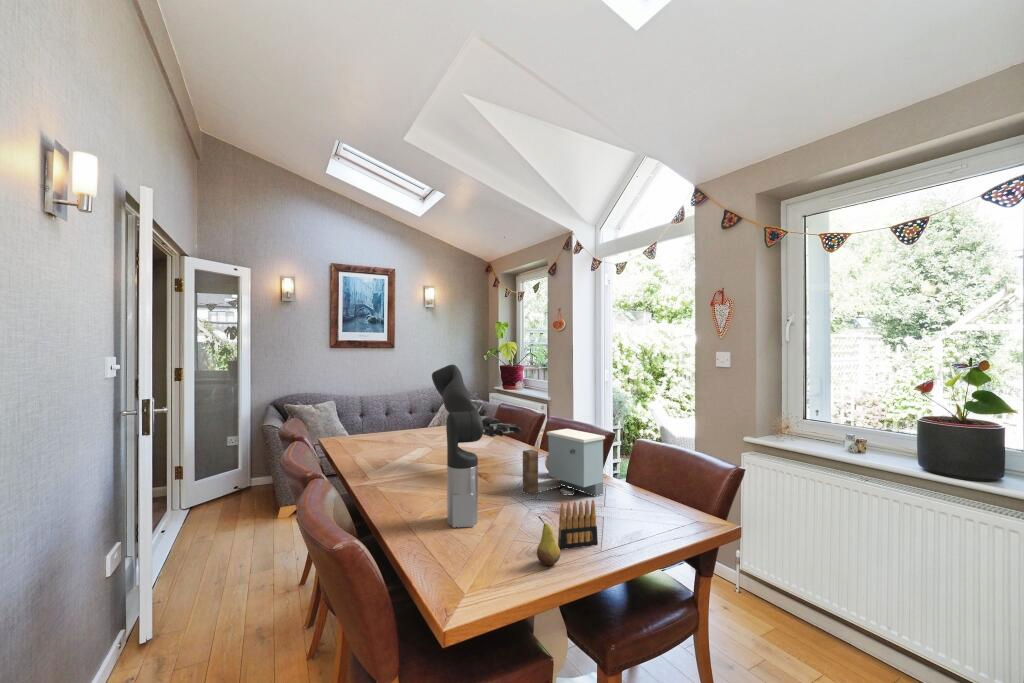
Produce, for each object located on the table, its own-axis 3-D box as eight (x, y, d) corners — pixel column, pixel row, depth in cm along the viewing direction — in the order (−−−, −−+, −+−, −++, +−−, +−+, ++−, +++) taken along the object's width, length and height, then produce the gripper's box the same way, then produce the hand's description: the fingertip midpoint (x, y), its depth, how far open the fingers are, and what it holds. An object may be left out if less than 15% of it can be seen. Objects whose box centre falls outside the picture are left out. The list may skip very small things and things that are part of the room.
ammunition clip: (595, 542, 125) (594, 497, 125) (597, 545, 123) (597, 500, 124) (557, 546, 123) (557, 501, 123) (560, 549, 121) (560, 503, 121)
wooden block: (522, 492, 168) (522, 451, 168) (553, 484, 178) (553, 445, 178) (529, 494, 165) (529, 453, 165) (561, 486, 174) (560, 447, 175)
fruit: (558, 570, 109) (558, 520, 109) (534, 567, 111) (534, 517, 111) (562, 560, 115) (562, 511, 115) (539, 557, 116) (539, 509, 116)
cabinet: (545, 488, 173) (545, 432, 173) (567, 482, 180) (567, 428, 180) (582, 501, 158) (582, 440, 158) (605, 494, 165) (605, 436, 165)
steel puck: (576, 495, 165) (575, 491, 165) (562, 496, 164) (562, 492, 164) (572, 491, 170) (572, 487, 170) (558, 492, 169) (558, 487, 169)
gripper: (472, 418, 185) (496, 424, 172) (501, 415, 194) (525, 420, 181) (472, 437, 185) (496, 444, 172) (501, 433, 194) (525, 439, 181)
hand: (511, 432), depth 177 cm, fingers open, 8 cm apart
